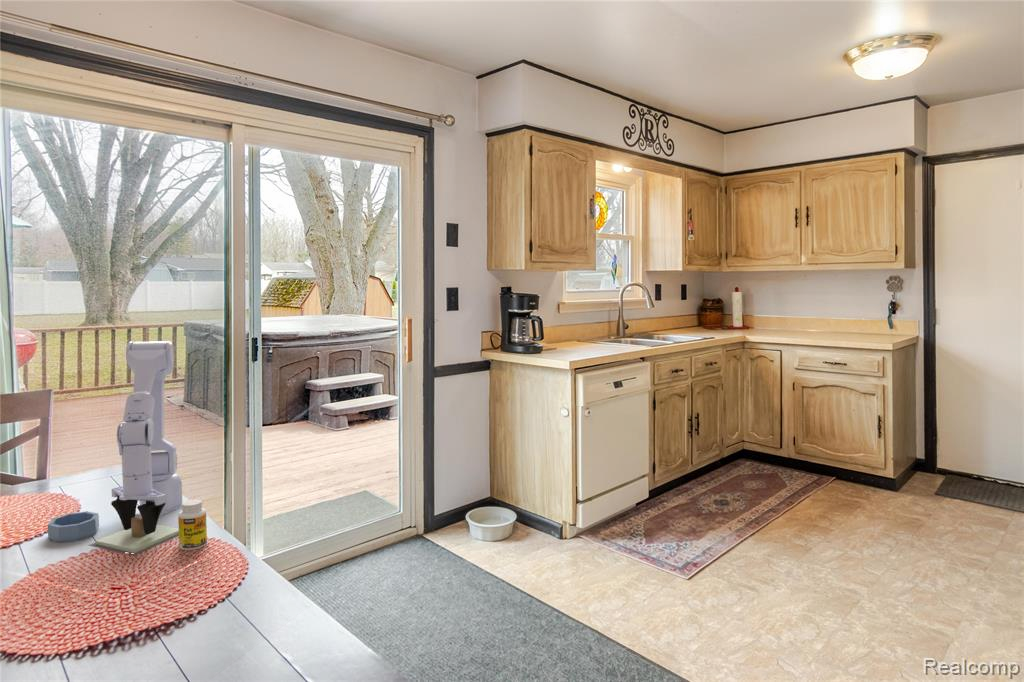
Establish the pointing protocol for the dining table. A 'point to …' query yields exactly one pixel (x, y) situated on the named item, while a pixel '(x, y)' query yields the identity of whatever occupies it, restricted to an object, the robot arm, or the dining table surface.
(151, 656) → the dining table surface
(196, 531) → the supplement bottle
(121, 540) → the lid
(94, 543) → the mat
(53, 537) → the bowl
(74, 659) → the dining table surface
